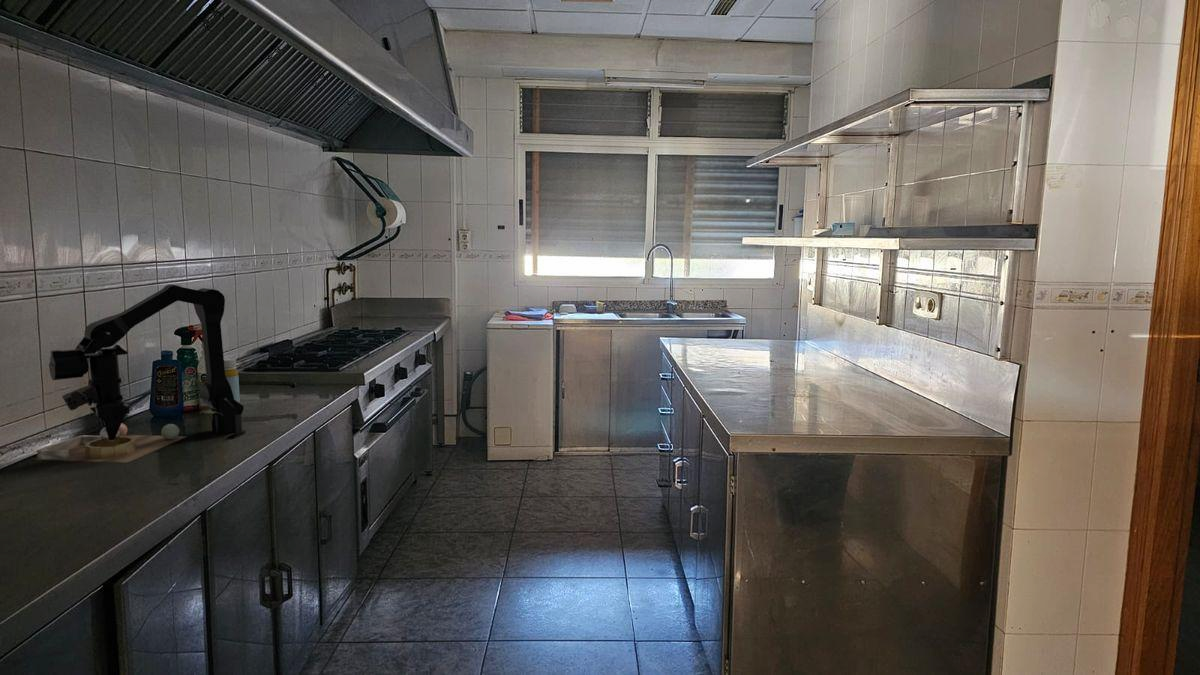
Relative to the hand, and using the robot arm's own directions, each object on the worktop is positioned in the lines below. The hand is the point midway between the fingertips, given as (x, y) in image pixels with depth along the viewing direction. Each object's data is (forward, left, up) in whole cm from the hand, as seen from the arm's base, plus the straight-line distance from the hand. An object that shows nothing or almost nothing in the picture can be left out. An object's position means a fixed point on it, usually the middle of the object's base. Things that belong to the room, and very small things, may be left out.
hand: (110, 437), depth 177 cm
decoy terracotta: (+7, -12, -2) cm, 14 cm away
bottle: (+3, -55, -5) cm, 55 cm away
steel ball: (0, 0, +1) cm, 1 cm away
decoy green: (-7, -12, -2) cm, 14 cm away
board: (+2, -4, -5) cm, 6 cm away
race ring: (0, 0, -4) cm, 4 cm away
